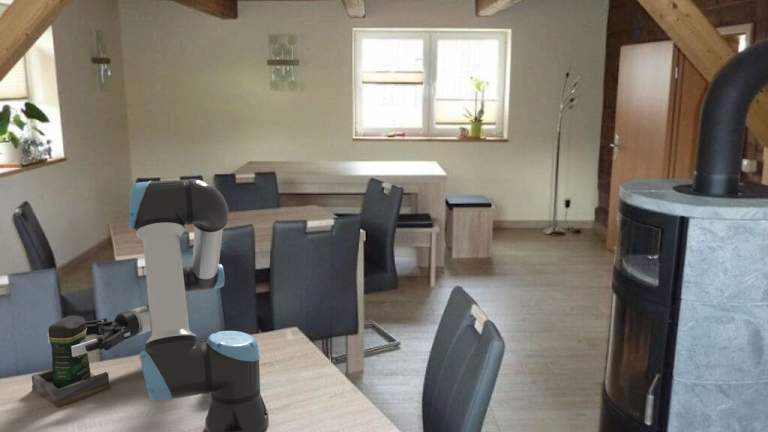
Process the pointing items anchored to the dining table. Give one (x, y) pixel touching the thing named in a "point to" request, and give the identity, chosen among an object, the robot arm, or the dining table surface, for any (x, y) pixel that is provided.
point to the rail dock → (68, 388)
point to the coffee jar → (68, 351)
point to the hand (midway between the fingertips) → (59, 345)
